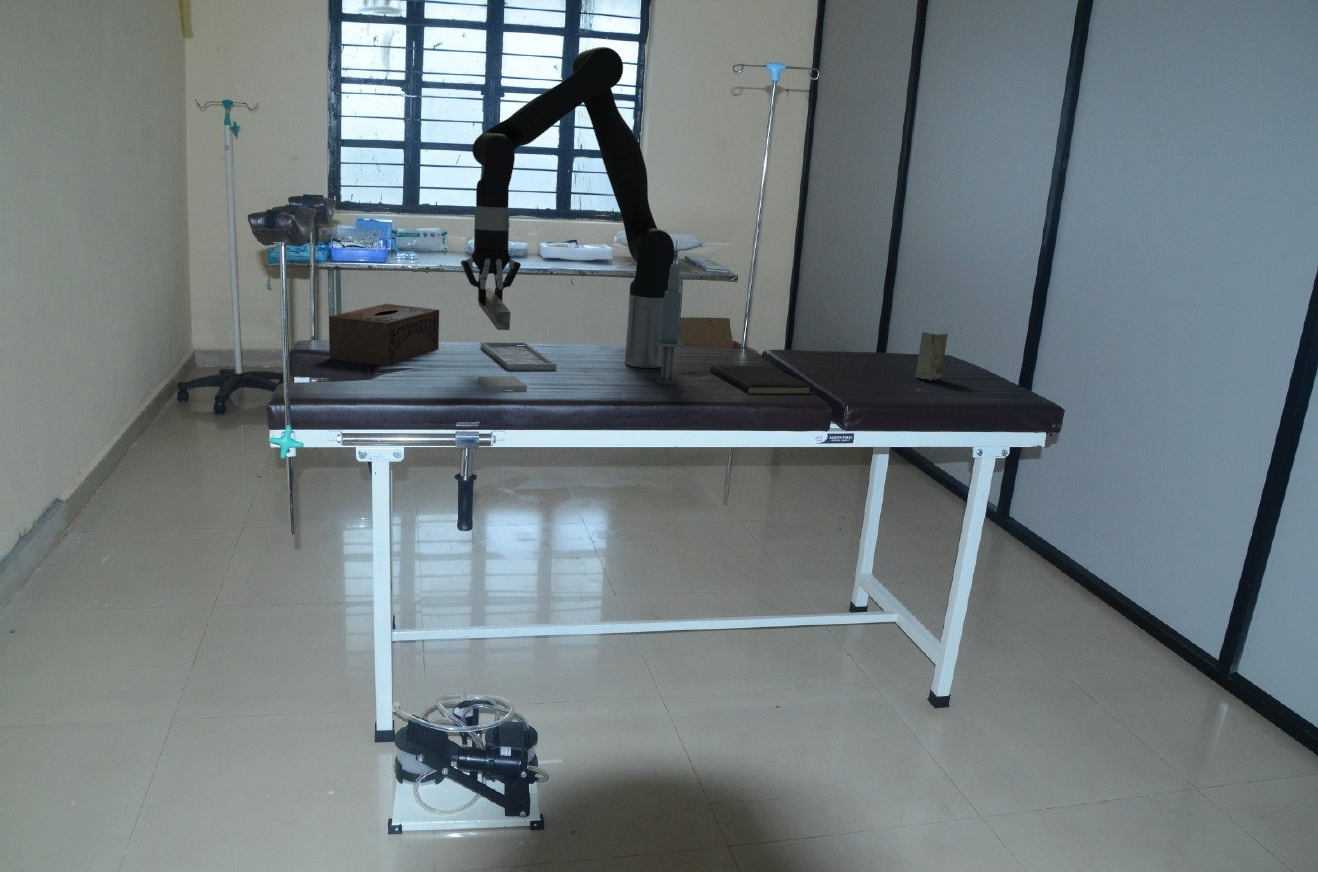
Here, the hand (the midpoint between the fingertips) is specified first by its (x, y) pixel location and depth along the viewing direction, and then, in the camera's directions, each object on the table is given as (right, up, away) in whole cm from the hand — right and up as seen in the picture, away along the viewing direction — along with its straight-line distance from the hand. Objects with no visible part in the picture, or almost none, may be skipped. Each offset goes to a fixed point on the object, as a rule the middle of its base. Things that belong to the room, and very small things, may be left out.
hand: (489, 305), depth 230 cm
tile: (+2, -17, -7) cm, 19 cm away
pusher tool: (+1, -3, -2) cm, 4 cm away
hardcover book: (+62, -17, +13) cm, 65 cm away
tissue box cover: (-27, -10, +13) cm, 32 cm away
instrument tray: (+3, -11, +18) cm, 22 cm away
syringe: (+40, -17, +5) cm, 44 cm away
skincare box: (+107, -15, +33) cm, 113 cm away
